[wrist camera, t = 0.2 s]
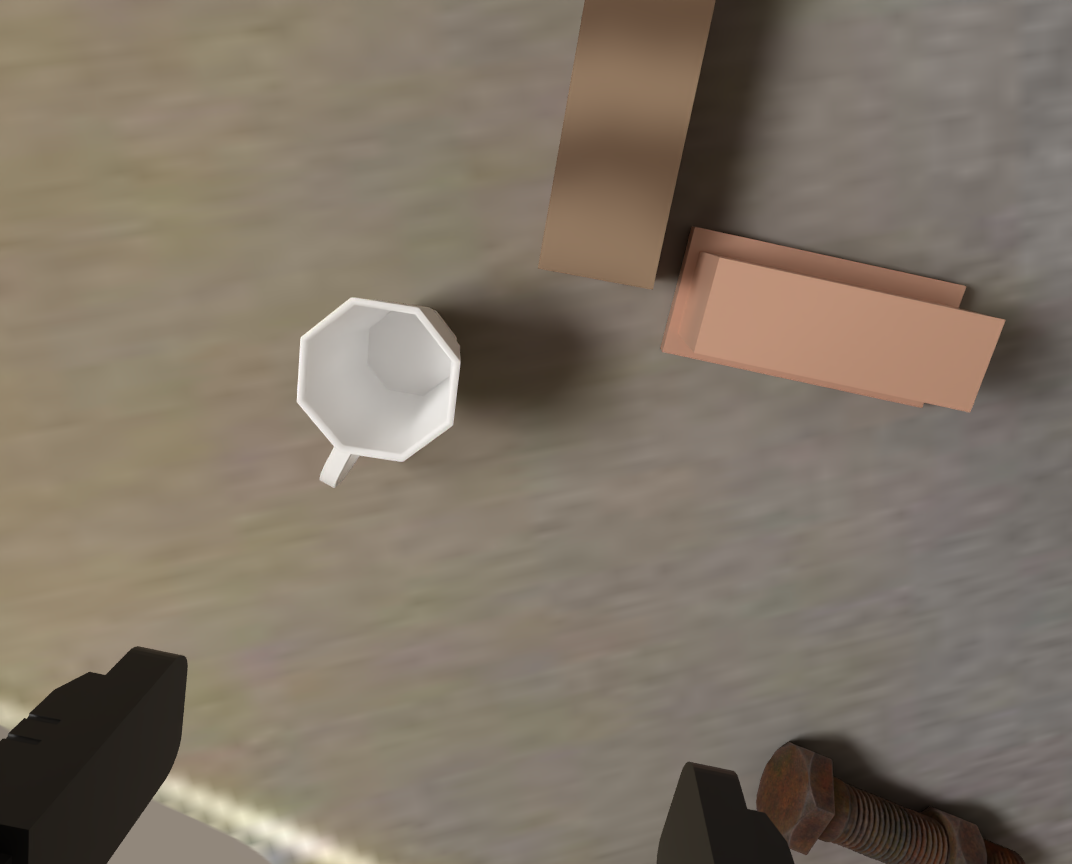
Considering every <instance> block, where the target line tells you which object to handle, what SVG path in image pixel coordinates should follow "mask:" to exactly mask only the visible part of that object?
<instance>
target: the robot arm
mask: <svg viewBox="0 0 1072 864" xmlns="http://www.w3.org/2000/svg"><path fill="white" fill-rule="evenodd" d="M187 667H188V665H187V659H186V657H185V656H182V655H178V654H173V653H168V652H163V651H158V650H153V649H149V648H144V647H138V646H137V647H134V648H132V649H131V650H130V651H129V652H128V653H127V654H126V655H125V656H124V657H123V658H122V659H121V660H120V661H119V662H118V663H117V664H116V665H115V666H114V667H113V668H112V669H111V670H110V671H109V672H108V673H107V674H106V675H102V674H97V673H93V672H88V673H86V674H84V675H82V676H80V677H78V678H76V679H74V680H72V681H71V682H69V683H67V684H65V685H63V686H61V687H59V688H57V689H55V690H54V691H53V692H51V693H50V694H49V695H48V696H47V697H46V698H45V699H44V700H43V701H42V702H41V703H40V704H39V705H38V706H37V707H36V708H35V709H34V710H32V711H31V712H30V713H29V717H28V718H27V719H26V718H24V719H23V720H22V721H21V722H20V723H19V724H18V725H17V726H16V727H15V728H14V729H12V730H11V731H10V732H9V734H8V737H7V738H6V739H2V740H1V741H0V864H107V862H108V861H109V859H110V858H111V857H112V855H113V854H114V852H115V851H116V849H117V848H118V847H119V845H120V844H121V842H122V841H123V839H124V838H125V837H126V835H127V834H128V832H129V831H130V829H131V828H132V826H133V825H134V824H135V822H136V821H137V819H138V818H139V817H140V815H141V813H142V812H143V811H144V809H145V808H146V807H147V805H148V804H149V802H150V801H151V799H152V798H153V797H154V795H155V794H156V792H157V791H158V789H159V788H160V786H161V785H162V784H163V782H164V781H165V779H166V778H167V776H168V774H169V772H170V770H171V768H172V766H173V764H174V761H175V759H176V756H177V753H178V750H179V746H180V741H181V735H182V724H183V713H184V702H185V691H186V680H187ZM657 864H794V861H793V858H792V855H791V852H790V849H789V846H788V843H787V841H786V840H785V838H784V837H783V836H782V834H781V833H780V832H779V830H778V829H777V828H776V826H775V825H774V824H773V822H772V821H771V820H770V818H769V817H768V816H767V814H766V813H764V812H759V811H755V810H750V809H747V807H746V803H745V800H744V796H743V793H742V789H741V786H740V782H739V779H738V776H737V774H736V773H735V772H734V771H731V770H726V769H722V768H717V767H712V766H707V765H702V764H697V763H693V762H687V763H686V764H685V765H684V767H683V769H682V772H681V775H680V778H679V781H678V784H677V787H676V791H675V794H674V797H673V800H672V803H671V806H670V809H669V812H668V816H667V819H666V822H665V825H664V828H663V831H662V834H661V838H660V842H659V847H658V854H657Z"/></svg>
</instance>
